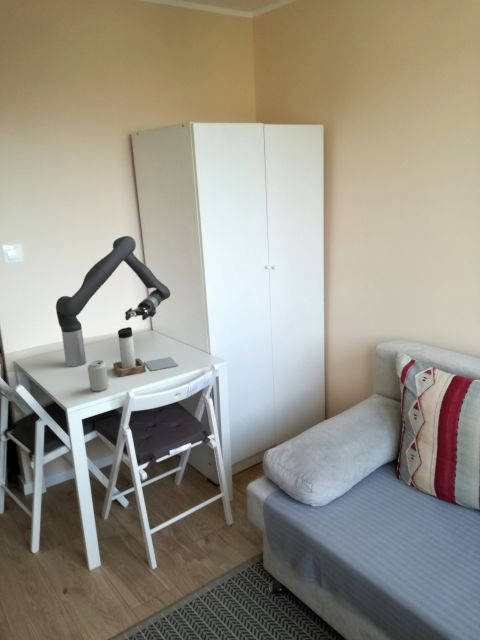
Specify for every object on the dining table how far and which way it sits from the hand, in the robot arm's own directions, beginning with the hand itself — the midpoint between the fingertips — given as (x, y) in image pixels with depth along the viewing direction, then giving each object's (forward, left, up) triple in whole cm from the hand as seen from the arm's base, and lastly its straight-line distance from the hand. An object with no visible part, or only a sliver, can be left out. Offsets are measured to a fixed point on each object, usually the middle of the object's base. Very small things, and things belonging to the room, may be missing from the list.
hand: (134, 318), depth 241 cm
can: (-23, -25, -22) cm, 40 cm away
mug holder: (-7, -10, -22) cm, 25 cm away
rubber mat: (+8, -10, -22) cm, 25 cm away
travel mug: (-7, -10, -22) cm, 25 cm away
